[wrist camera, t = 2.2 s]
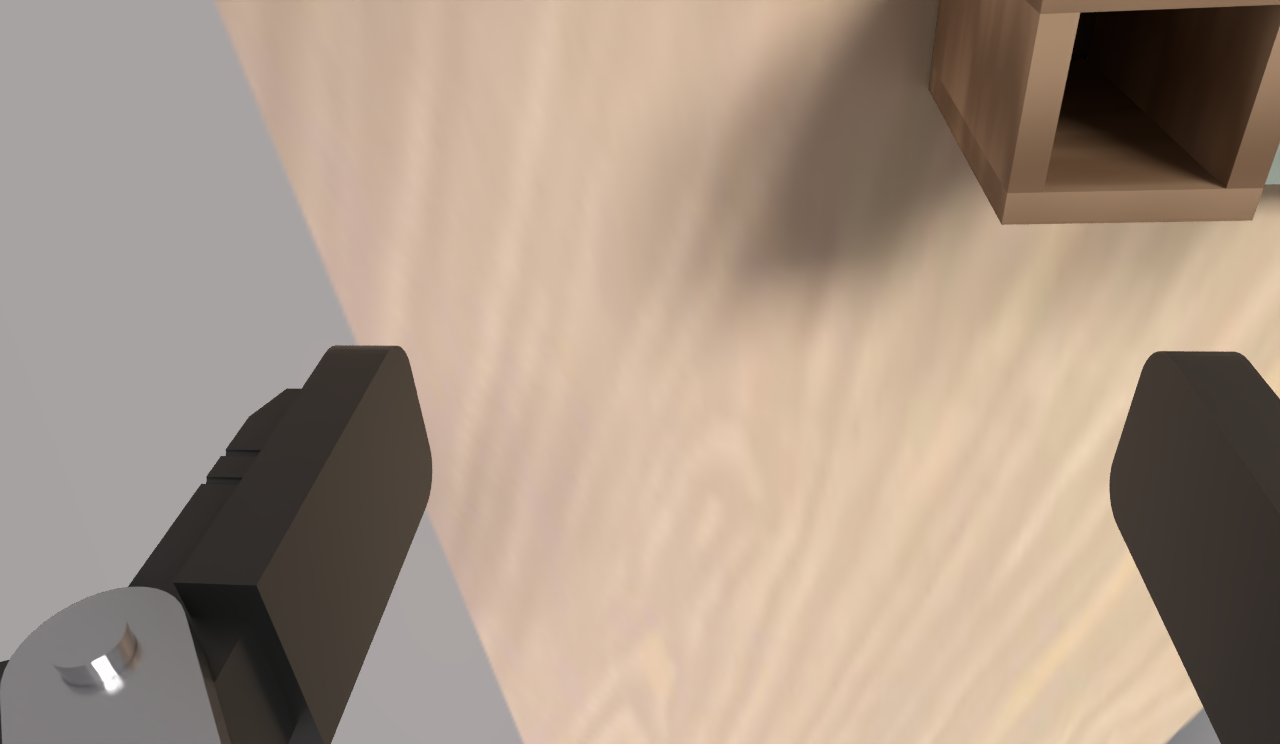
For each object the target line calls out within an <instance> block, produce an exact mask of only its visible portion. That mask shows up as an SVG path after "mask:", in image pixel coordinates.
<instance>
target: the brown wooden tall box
mask: <svg viewBox="0 0 1280 744" xmlns="http://www.w3.org/2000/svg"><path fill="white" fill-rule="evenodd" d="M1080 12H1098V13H1097V17H1096V22H1095V27H1094V31H1093V36H1092V40H1091V45H1090V50H1089V54H1088V59H1073V60H1071V55H1072V51H1073V46H1074V41H1075V36H1076V31H1077V26H1078V21H1079V17H1080ZM929 91H930V93H931V94H932V96H933V98H934V100H935V102H936V104H937V106H938V107H939V109H940V111H941V113H942V115H943V117H944V119H945V120H946V122H947V124H948V126H949V128H950V130H951V132H952V133H953V135H954V137H955V139H956V141H957V143H958V144H959V146H960V148H961V150H962V152H963V154H964V156H965V157H966V159H967V161H968V163H969V165H970V167H971V169H972V170H973V172H974V174H975V176H976V178H977V180H978V182H979V183H980V185H981V187H982V189H983V191H984V193H985V195H986V196H987V198H988V200H989V202H990V204H991V206H992V208H993V209H994V211H995V213H996V215H997V217H998V219H999V221H1000V222H1001V224H1002V225H1005V224H1065V223H1124V222H1184V221H1243V220H1252V219H1253V217H1254V214H1255V211H1256V208H1257V205H1258V203H1259V200H1260V197H1261V194H1262V191H1263V188H1264V186H1265V183H1266V180H1267V177H1268V174H1269V171H1270V169H1271V166H1272V163H1273V160H1274V157H1275V154H1276V152H1277V149H1278V146H1279V143H1280V0H939V8H938V16H937V24H936V33H935V41H934V49H933V57H932V66H931V74H930V82H929Z"/></svg>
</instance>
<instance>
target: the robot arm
mask: <svg viewBox="0 0 1280 744" xmlns="http://www.w3.org/2000/svg"><path fill="white" fill-rule="evenodd" d="M431 482H432V457H431V451H430V446H429V442H428V438H427V433H426V429H425V425H424V421H423V417H422V412H421V408H420V404H419V400H418V396H417V391H416V387H415V383H414V379H413V375H412V371H411V366H410V363H409V359H408V357H407V354H406V353H405V351H404V350H403V349H402V348H401V347H400V346H337V345H336V346H332V347H331V348H329V349H328V351H327V352H326V353H325V354H324V356H323V357H322V359H321V360H320V362H319V363H318V365H317V366H316V368H315V369H314V371H313V373H312V374H311V375H310V377H309V378H308V380H307V381H306V383H305V384H304V386H303V388H302V389H286V390H284V391H283V392H282V393H280V394H279V395H278V396H276V397H275V398H274V399H273V400H271V401H270V402H269V403H267V404H266V405H264V406H263V407H262V408H260V409H259V410H258V411H256V412H255V413H254V414H252V415H251V416H250V417H249V418H248V419H247V420H246V422H245V423H244V425H243V426H242V427H241V429H240V430H239V432H238V433H237V435H236V436H235V437H234V439H233V440H232V442H231V443H230V444H229V446H228V447H227V449H226V456H221V457H220V458H219V460H218V461H217V463H216V464H215V465H214V467H213V468H212V470H211V471H210V472H209V474H208V475H207V482H206V484H201V485H200V487H199V488H198V489H197V491H196V492H195V493H194V495H193V496H192V498H191V499H190V501H189V502H188V503H187V505H186V506H185V508H184V509H183V510H182V512H181V513H180V515H179V516H178V517H177V519H176V520H175V522H174V523H173V525H172V526H171V527H170V529H169V530H168V532H167V533H166V534H165V536H164V538H163V539H162V540H161V541H160V543H159V544H158V545H157V547H156V548H155V550H154V551H153V552H152V554H151V555H150V557H149V558H148V560H147V561H146V562H145V564H144V565H143V567H142V568H141V569H140V571H139V572H138V574H137V575H136V577H135V578H134V579H133V581H132V582H131V584H130V585H129V586H128V587H126V588H118V589H114V590H110V591H106V592H102V593H99V594H96V595H93V596H90V597H87V598H85V599H83V600H81V601H79V602H76V603H74V604H72V605H70V606H69V607H67V608H65V609H63V610H62V611H60V612H58V613H57V614H55V615H54V616H52V617H51V618H50V619H48V620H47V621H45V622H44V623H43V624H42V625H40V626H39V627H38V628H37V629H36V630H35V631H33V632H32V633H31V634H30V635H29V636H28V637H27V638H26V639H25V641H23V643H22V644H21V645H20V646H19V647H18V649H17V650H16V651H15V653H14V654H13V655H12V657H11V658H10V660H7V661H3V662H0V744H331V742H332V739H333V737H334V734H335V732H336V729H337V727H338V724H339V722H340V719H341V717H342V715H343V712H344V710H345V707H346V704H347V702H348V700H349V697H350V695H351V692H352V690H353V687H354V685H355V682H356V680H357V677H358V675H359V672H360V670H361V667H362V665H363V662H364V660H365V657H366V655H367V652H368V650H369V647H370V645H371V642H372V640H373V637H374V635H375V632H376V630H377V627H378V625H379V623H380V620H381V617H382V615H383V612H384V610H385V608H386V605H387V602H388V600H389V597H390V595H391V593H392V590H393V588H394V585H395V583H396V580H397V578H398V575H399V572H400V570H401V568H402V565H403V563H404V560H405V558H406V555H407V553H408V550H409V548H410V545H411V543H412V540H413V538H414V535H415V533H416V531H417V528H418V526H419V523H420V520H421V518H422V516H423V513H424V511H425V508H426V505H427V503H428V499H429V495H430V490H431ZM1110 500H1111V507H1112V511H1113V515H1114V518H1115V521H1116V523H1117V526H1118V528H1119V530H1120V532H1121V534H1122V536H1123V538H1124V541H1125V543H1126V545H1127V547H1128V549H1129V551H1130V553H1131V555H1132V557H1133V559H1134V562H1135V564H1136V566H1137V568H1138V570H1139V572H1140V574H1141V576H1142V578H1143V581H1144V583H1145V585H1146V587H1147V589H1148V591H1149V593H1150V595H1151V597H1152V599H1153V602H1154V604H1155V606H1156V608H1157V610H1158V612H1159V614H1160V616H1161V618H1162V621H1163V623H1164V625H1165V627H1166V629H1167V631H1168V633H1169V635H1170V637H1171V639H1172V642H1173V644H1174V646H1175V648H1176V650H1177V652H1178V654H1179V656H1180V658H1181V661H1182V663H1183V665H1184V667H1185V669H1186V671H1187V673H1188V675H1189V677H1190V679H1191V682H1192V684H1193V686H1194V688H1195V690H1196V692H1197V694H1198V696H1199V698H1200V700H1201V703H1202V705H1203V707H1204V709H1205V711H1206V713H1207V715H1208V717H1209V719H1210V722H1211V724H1212V726H1213V728H1214V730H1215V732H1216V734H1217V736H1218V738H1219V740H1220V743H1221V744H1280V399H1279V398H1278V396H1277V395H1276V394H1275V393H1274V392H1273V390H1272V389H1271V388H1270V387H1269V385H1268V384H1267V383H1266V382H1265V380H1264V379H1263V378H1262V377H1261V375H1260V374H1259V373H1258V372H1257V370H1256V369H1255V368H1254V367H1253V365H1252V364H1251V363H1250V362H1249V361H1248V360H1247V358H1246V357H1245V356H1243V355H1242V354H1240V353H1237V352H1184V351H1159V352H1156V353H1153V354H1152V355H1151V356H1150V357H1149V358H1148V360H1147V361H1146V363H1145V365H1144V367H1143V369H1142V372H1141V375H1140V378H1139V381H1138V384H1137V387H1136V391H1135V394H1134V397H1133V400H1132V403H1131V406H1130V409H1129V413H1128V416H1127V419H1126V422H1125V425H1124V428H1123V431H1122V435H1121V438H1120V441H1119V444H1118V447H1117V450H1116V453H1115V457H1114V460H1113V463H1112V467H1111V473H1110Z"/></svg>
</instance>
